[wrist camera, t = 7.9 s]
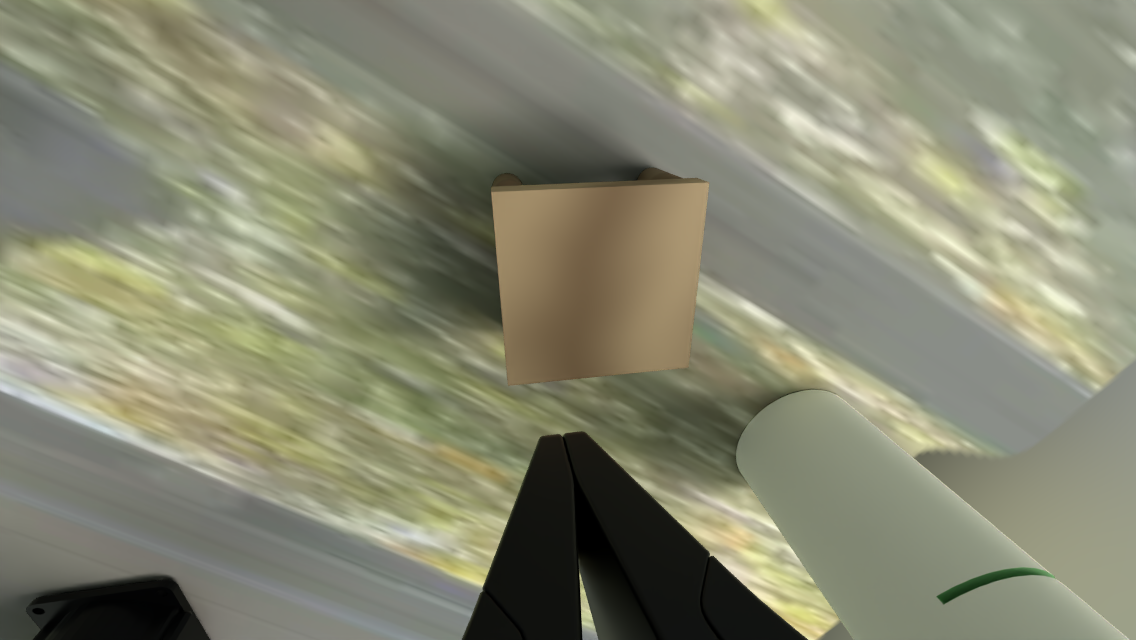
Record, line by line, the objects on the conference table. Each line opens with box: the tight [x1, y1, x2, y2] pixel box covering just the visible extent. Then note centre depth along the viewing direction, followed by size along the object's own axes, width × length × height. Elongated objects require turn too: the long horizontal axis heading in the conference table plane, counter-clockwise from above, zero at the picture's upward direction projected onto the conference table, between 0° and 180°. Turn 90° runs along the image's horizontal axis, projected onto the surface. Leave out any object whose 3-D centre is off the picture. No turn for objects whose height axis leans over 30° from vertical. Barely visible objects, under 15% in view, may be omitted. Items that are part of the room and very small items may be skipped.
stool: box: [491, 168, 709, 386], centre depth 18 cm, size 7×7×4 cm
